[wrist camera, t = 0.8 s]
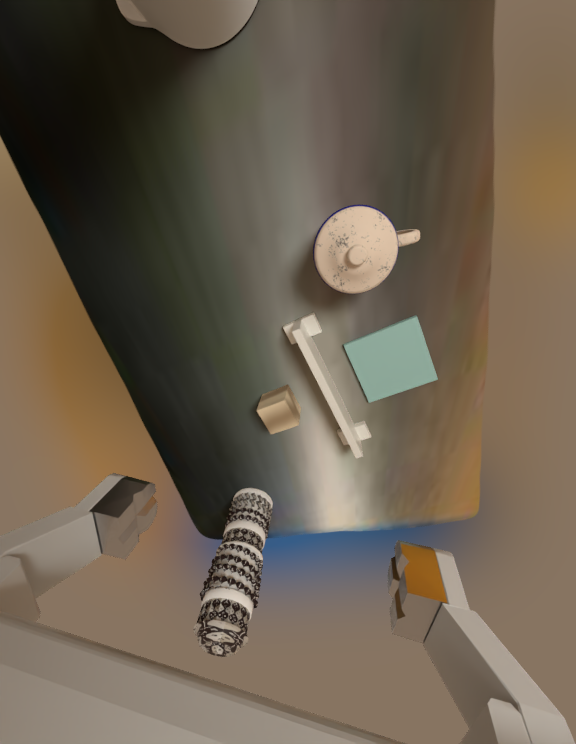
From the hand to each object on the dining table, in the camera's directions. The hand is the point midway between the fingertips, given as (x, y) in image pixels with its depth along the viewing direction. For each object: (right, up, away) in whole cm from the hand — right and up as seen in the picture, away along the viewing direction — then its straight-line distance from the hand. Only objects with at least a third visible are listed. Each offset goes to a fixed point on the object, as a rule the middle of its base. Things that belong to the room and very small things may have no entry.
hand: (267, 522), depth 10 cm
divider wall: (+8, +3, +41) cm, 42 cm away
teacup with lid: (+10, +22, +31) cm, 40 cm away
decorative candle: (-7, -22, +56) cm, 61 cm away
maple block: (0, 0, +44) cm, 44 cm away
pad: (+16, +7, +38) cm, 42 cm away
